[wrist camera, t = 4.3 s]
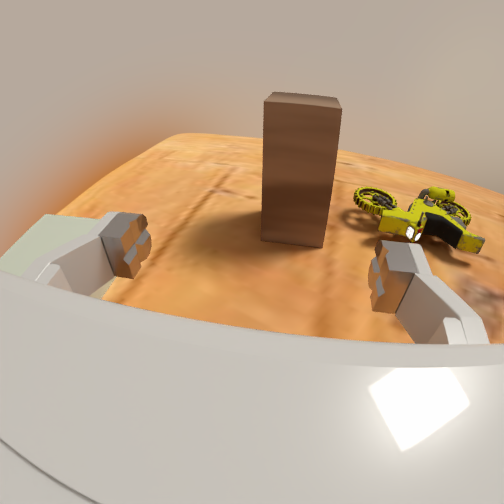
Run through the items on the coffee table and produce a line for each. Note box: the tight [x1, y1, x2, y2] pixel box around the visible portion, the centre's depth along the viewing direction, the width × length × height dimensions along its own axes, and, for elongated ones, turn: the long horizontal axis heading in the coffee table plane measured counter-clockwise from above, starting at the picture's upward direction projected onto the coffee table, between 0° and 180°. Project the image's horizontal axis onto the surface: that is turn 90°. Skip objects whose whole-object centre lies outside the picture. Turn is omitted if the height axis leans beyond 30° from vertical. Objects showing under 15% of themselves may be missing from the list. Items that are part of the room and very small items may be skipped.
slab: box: [0, 214, 116, 299], centre depth 17 cm, size 9×9×3 cm
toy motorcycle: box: [353, 187, 485, 254], centre depth 22 cm, size 12×4×7 cm
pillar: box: [261, 92, 342, 248], centre depth 20 cm, size 4×4×10 cm
